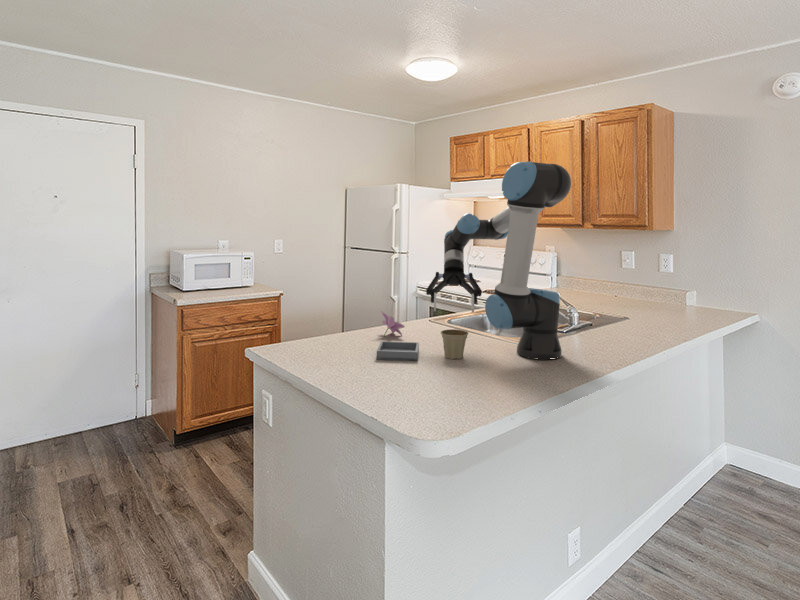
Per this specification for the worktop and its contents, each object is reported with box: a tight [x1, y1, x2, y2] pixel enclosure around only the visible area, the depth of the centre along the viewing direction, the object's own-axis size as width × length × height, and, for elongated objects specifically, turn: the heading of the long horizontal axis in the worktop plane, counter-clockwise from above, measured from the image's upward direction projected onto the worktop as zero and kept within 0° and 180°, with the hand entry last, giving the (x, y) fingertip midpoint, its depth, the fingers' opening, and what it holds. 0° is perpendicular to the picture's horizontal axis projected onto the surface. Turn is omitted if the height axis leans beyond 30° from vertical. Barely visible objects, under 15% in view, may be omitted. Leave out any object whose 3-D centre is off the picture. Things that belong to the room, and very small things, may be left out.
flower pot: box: [440, 328, 469, 360], centre depth 171 cm, size 9×9×9 cm
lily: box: [380, 311, 406, 338], centre depth 202 cm, size 12×12×10 cm
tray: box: [376, 340, 420, 362], centre depth 173 cm, size 14×14×3 cm
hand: (453, 309), depth 180 cm, fingers open, 13 cm apart
